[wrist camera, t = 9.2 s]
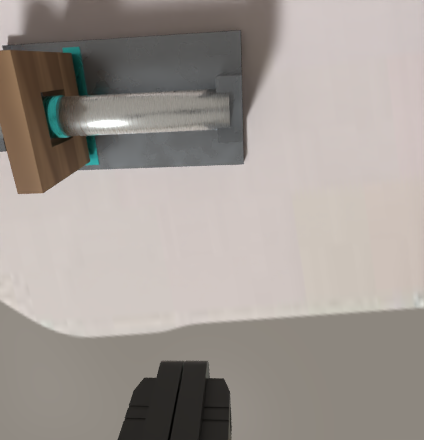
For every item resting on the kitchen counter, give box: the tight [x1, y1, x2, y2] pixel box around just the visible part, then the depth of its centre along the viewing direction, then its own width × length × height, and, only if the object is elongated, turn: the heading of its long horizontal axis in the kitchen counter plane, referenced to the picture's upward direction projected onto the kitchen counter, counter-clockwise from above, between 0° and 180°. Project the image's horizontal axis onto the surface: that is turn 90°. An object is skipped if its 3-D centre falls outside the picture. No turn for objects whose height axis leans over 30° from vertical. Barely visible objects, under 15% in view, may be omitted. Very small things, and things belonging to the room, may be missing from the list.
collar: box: [0, 50, 90, 194], centre depth 32 cm, size 2×10×10 cm, turn 3°
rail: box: [0, 30, 244, 170], centre depth 34 cm, size 22×12×8 cm, turn 93°
